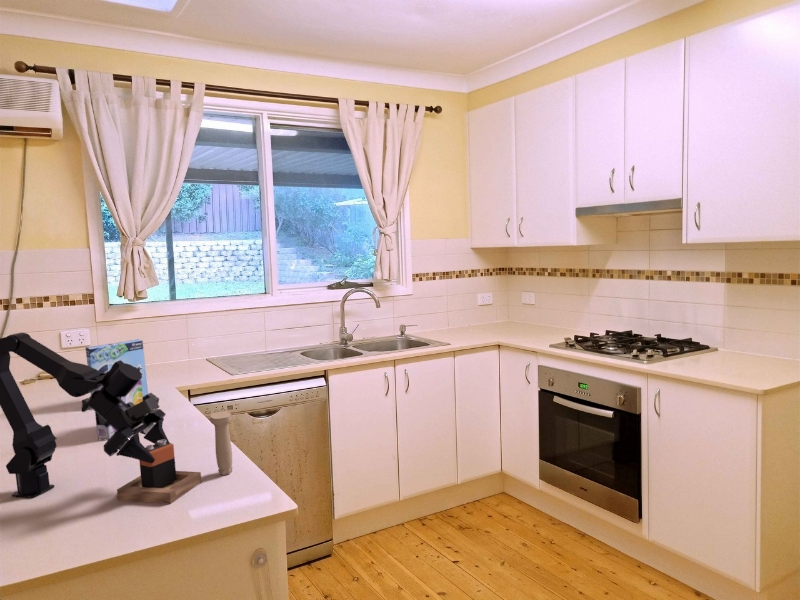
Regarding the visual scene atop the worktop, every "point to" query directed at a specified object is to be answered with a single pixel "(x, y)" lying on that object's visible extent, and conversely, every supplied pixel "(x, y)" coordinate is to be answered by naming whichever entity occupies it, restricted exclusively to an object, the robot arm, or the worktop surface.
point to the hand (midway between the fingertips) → (162, 455)
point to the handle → (222, 441)
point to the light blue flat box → (118, 357)
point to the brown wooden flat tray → (160, 489)
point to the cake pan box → (133, 396)
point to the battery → (159, 465)
